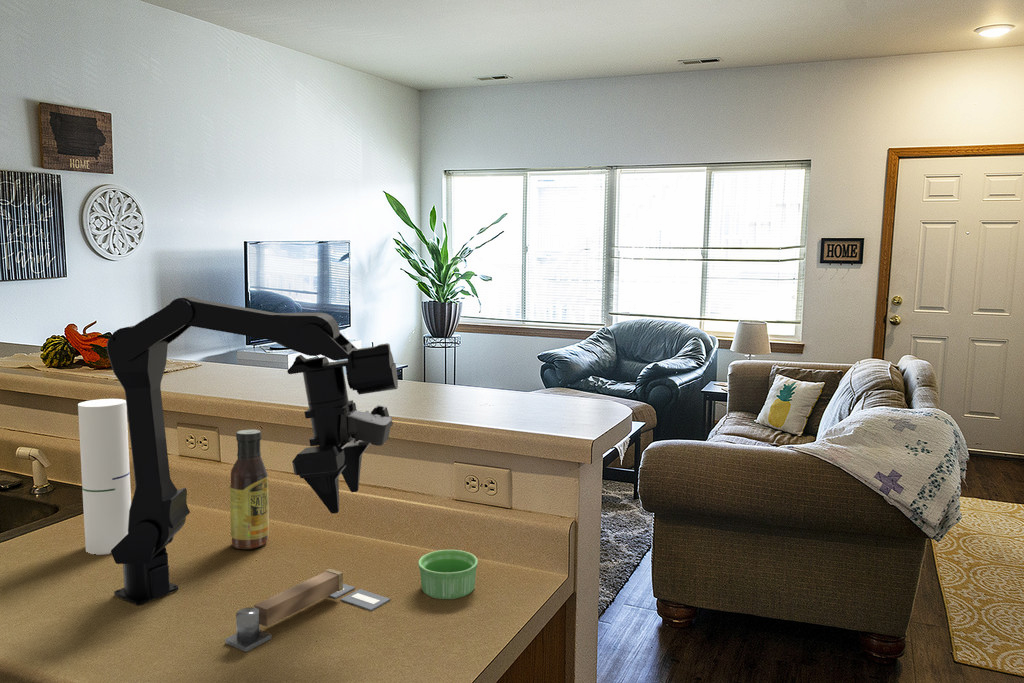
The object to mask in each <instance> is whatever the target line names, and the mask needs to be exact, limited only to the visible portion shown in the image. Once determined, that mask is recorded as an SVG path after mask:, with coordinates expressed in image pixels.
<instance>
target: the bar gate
mask: <svg viewBox="0 0 1024 683" xmlns="http://www.w3.org/2000/svg"><path fill="white" fill-rule="evenodd" d="M343 574H344V573H343V572H342V571H339V570H336V569H334V568H333V569H332V568H328V569H326V570H325V571H324V572H321V573H319V574H317V575H315V576H313V577H311V578H309V579H306V580H305V581H302V582H301V583H299V584H296V585H293V586H292V587H290V588H288V589H285V590H283V591H281V592H278V593H277V594H274V595H272V596H270V597H268V598H266V599H264V600H261V601H259V602H258V603H255V604H254V605H253V607H254V608H257V609H259V625H260V626H264V627H266V628H268V627H270V626H272V625H274V624H276V623H278V622H280V621H282V620H284V619H286V618H287V617H289V616H292V615H294V614H295V613H297V612H300V611H301V610H303V609H306V608H307V607H309V606H311V605H313V604H315V603H317V602H319V601H321V600H323V599H325V598H327V597H330V596H329V595H331V594H333V593H335V592H337V591H341V590H343V584H344V576H343Z"/></svg>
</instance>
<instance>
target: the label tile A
mask: <svg viewBox="0 0 1024 683" xmlns="http://www.w3.org/2000/svg"><path fill="white" fill-rule="evenodd" d="M355 589H356V587H355V586H352V585H348V584H347V583H343V590H341V591H337V592H335V593H333V594H331V595H329V596H328V597H331V598H333V599H337V598H339V597H340V598H341V597H342V596H344V595H345V594H347V593H350V592H351V591H353V590H355Z"/></svg>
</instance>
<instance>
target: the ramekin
mask: <svg viewBox="0 0 1024 683" xmlns="http://www.w3.org/2000/svg"><path fill="white" fill-rule="evenodd" d="M478 562H479V561H478V558H477V556H475V555H474V554H473V553H471V552H468V551H464V550H459V549H440V550H434V551H431V552H429V553H426V554H424V555H422V556H421V557H420V558H419V560H418V562H417V565H418V568H419V572H420V584H421V589H422V592H423V593H424V594H426V595H427V596H429V597H431V598H433V599H438V600H455V599H460V598H463V597H465V596H468V595H469V594H471V593H472V592H473V591H474V589H475V587H476V576H477V567H478Z"/></svg>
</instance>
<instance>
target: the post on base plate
mask: <svg viewBox="0 0 1024 683" xmlns="http://www.w3.org/2000/svg"><path fill="white" fill-rule="evenodd" d="M235 613H236V614H235V622H236V633H235V634H232V635H230V636H228V637H226V638H225V639H224V640H225V643H224V644H227V645H228V646H231V647H233V648H235V649H238V650H240V651H243V652H244V653H247V652H249V651H251V650H253V649H254V648H256V647H259V646H260V645H262V644H264V643H266V642H267V641H270V640H272V634H271V633H269V632H267V631H264V630H262V629H261V628H260V626H261V624H259V609H257V608H254V606H253V607H244V608H241V609H239V610H237V611H236V612H235Z"/></svg>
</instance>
